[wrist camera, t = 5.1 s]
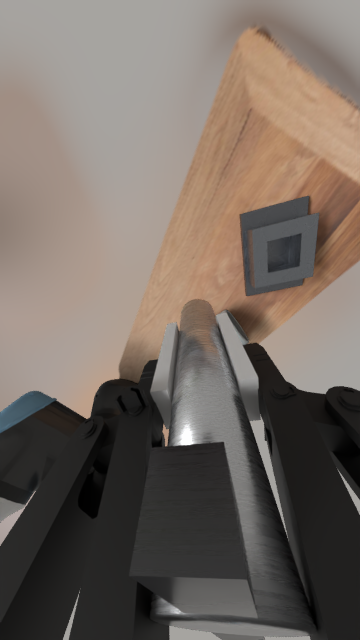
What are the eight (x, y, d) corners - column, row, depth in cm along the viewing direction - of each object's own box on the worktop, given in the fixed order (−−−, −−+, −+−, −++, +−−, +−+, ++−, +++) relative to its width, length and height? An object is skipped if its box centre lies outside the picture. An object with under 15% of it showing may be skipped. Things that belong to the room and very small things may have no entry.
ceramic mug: (192, 326, 38) (193, 347, 31) (222, 303, 35) (230, 320, 28) (221, 355, 41) (228, 379, 34) (251, 336, 38) (264, 358, 31)
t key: (219, 344, 18) (303, 648, 5) (189, 349, 19) (191, 638, 5) (206, 270, 15) (365, 582, 1) (171, 278, 15) (47, 572, 2)
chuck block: (245, 294, 34) (252, 302, 30) (239, 214, 28) (247, 211, 24) (299, 283, 32) (314, 290, 28) (305, 196, 26) (325, 189, 22)
